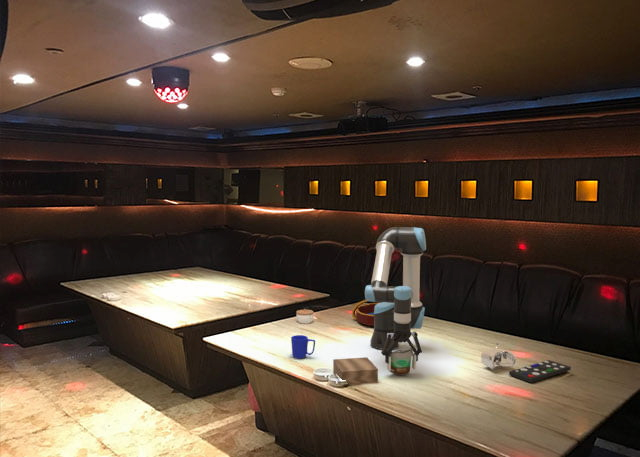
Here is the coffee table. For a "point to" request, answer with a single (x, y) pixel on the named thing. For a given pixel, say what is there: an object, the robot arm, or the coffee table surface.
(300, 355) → the mug
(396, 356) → the food container
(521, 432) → the coffee table surface
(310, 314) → the lidded jar
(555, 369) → the remote control
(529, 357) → the coffee table surface
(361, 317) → the decorative basket
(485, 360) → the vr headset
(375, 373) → the walnut riser
